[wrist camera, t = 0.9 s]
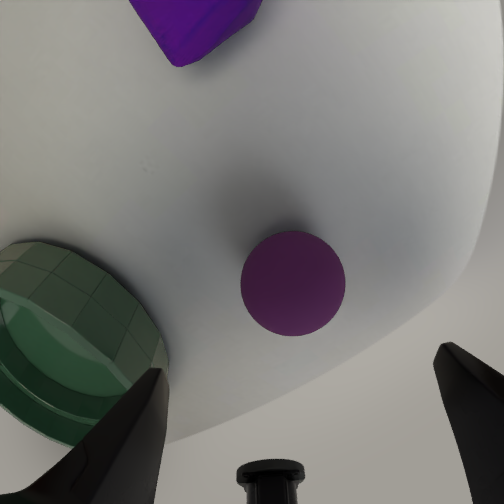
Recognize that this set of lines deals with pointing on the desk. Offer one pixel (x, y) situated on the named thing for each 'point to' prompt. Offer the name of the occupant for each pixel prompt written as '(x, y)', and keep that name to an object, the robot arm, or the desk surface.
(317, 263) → the ball
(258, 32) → the desk surface
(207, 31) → the crystal
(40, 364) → the bowl
